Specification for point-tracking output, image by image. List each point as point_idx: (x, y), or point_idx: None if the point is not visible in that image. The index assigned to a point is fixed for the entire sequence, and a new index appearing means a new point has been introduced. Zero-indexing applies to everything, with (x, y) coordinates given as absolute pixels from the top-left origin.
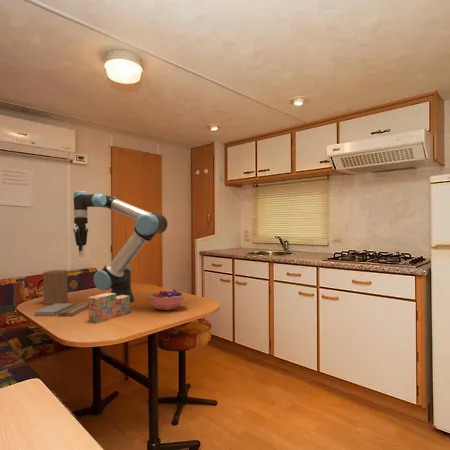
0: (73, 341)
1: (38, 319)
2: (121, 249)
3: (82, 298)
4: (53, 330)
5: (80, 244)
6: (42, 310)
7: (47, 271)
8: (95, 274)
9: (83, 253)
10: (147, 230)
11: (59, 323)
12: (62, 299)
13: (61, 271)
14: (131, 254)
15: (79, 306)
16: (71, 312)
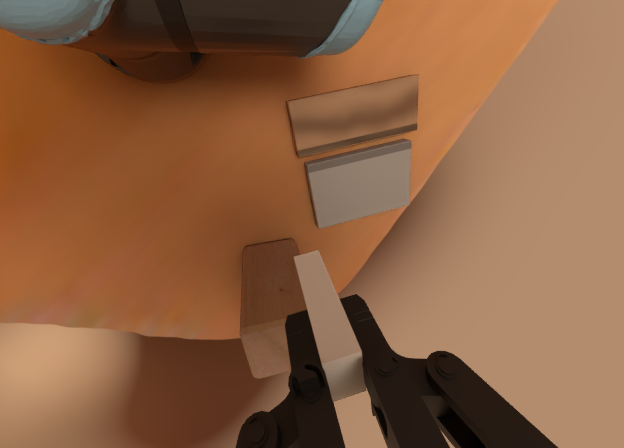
0: None
1: (432, 162)
2: None
3: (185, 235)
4: (536, 22)
5: (444, 352)
6: (398, 194)
7: None
8: (379, 6)
9: (317, 271)
10: None
11: (474, 61)
12: (272, 247)
13: (282, 327)
14: None
15: (339, 114)
16: (416, 79)
